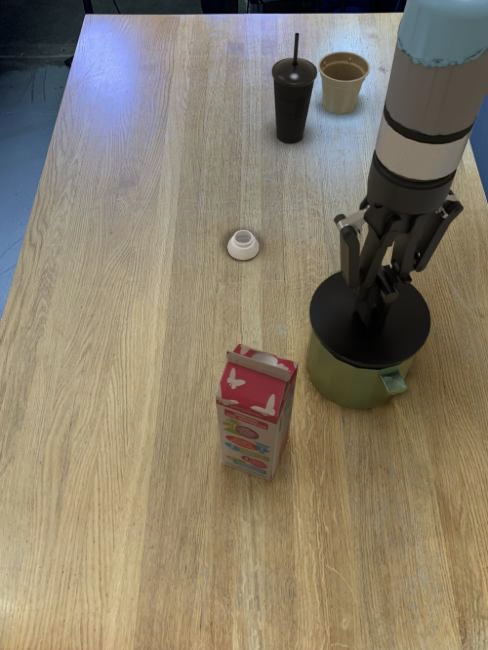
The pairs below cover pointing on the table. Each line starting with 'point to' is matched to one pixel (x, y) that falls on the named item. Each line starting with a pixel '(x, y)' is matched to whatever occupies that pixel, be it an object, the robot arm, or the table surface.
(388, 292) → the lid
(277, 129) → the drinking cup
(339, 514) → the table surface
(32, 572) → the table surface
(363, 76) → the flower pot
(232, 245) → the white jar
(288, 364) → the juice carton
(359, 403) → the pot
